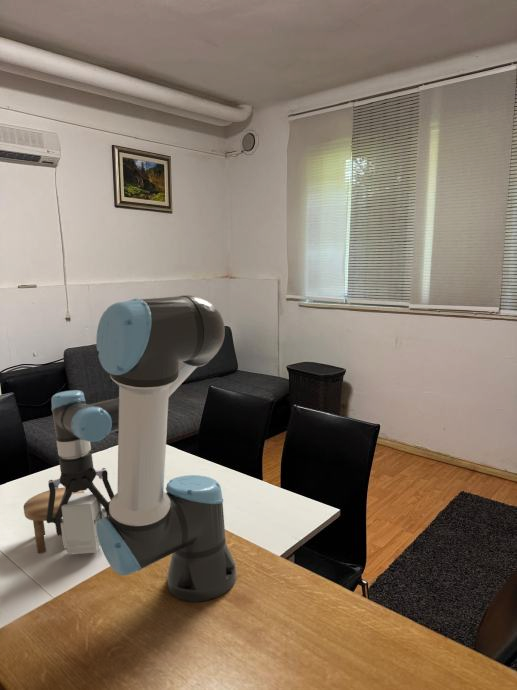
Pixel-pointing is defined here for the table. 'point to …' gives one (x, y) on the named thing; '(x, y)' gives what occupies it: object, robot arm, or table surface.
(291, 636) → the table surface
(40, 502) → the stool
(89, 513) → the supplement box
